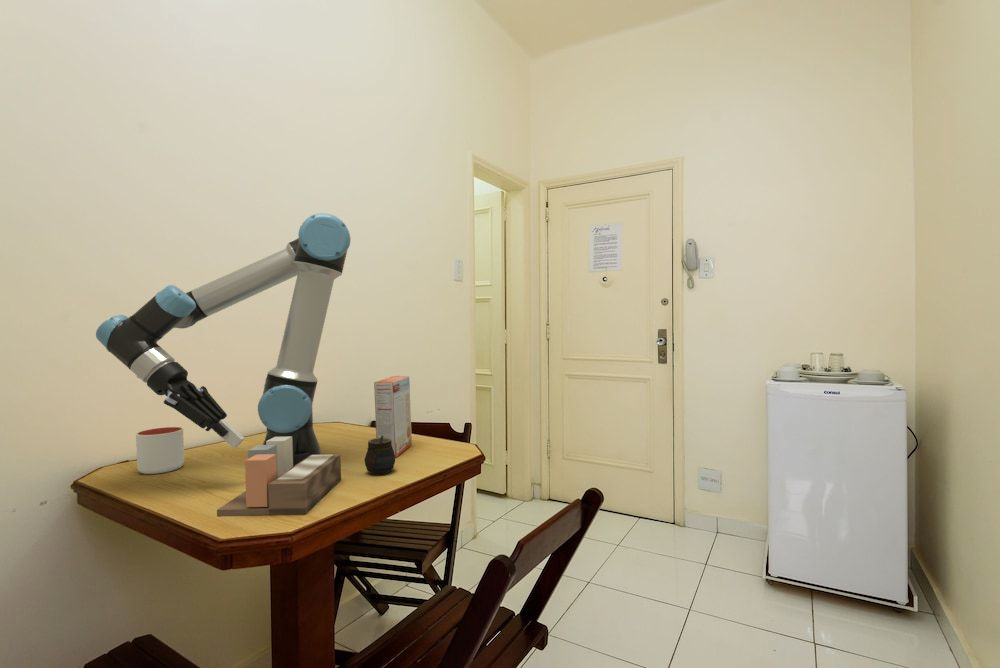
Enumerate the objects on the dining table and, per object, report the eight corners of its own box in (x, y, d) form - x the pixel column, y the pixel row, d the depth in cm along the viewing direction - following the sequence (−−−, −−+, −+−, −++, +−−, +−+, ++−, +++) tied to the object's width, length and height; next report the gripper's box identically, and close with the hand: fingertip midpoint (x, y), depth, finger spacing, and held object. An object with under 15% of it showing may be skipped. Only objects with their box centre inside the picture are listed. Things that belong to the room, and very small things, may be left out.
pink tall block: (257, 499, 100) (256, 454, 100) (277, 498, 100) (276, 454, 100) (246, 507, 96) (245, 460, 96) (267, 506, 96) (265, 460, 96)
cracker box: (393, 445, 149) (391, 375, 149) (412, 445, 149) (410, 375, 148) (375, 458, 135) (373, 381, 135) (396, 458, 135) (394, 381, 134)
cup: (192, 463, 133) (191, 426, 133) (169, 475, 124) (167, 434, 123) (154, 464, 133) (153, 427, 133) (127, 476, 123) (126, 435, 123)
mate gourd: (389, 466, 127) (388, 427, 127) (400, 473, 121) (400, 432, 121) (361, 471, 123) (360, 431, 123) (371, 479, 117) (371, 436, 117)
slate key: (259, 486, 108) (258, 445, 108) (277, 486, 108) (276, 444, 108) (249, 493, 104) (247, 450, 104) (268, 492, 104) (267, 449, 104)
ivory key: (276, 475, 116) (275, 436, 116) (293, 474, 116) (292, 436, 116) (267, 481, 112) (266, 441, 112) (285, 480, 112) (283, 440, 112)
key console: (268, 481, 117) (267, 454, 117) (341, 480, 117) (340, 452, 116) (217, 515, 96) (215, 482, 96) (305, 514, 96) (304, 481, 95)
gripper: (168, 381, 119) (242, 448, 120) (128, 388, 106) (212, 463, 107) (189, 358, 119) (263, 425, 120) (152, 362, 106) (236, 438, 107)
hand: (239, 443), depth 113 cm, fingers closed
